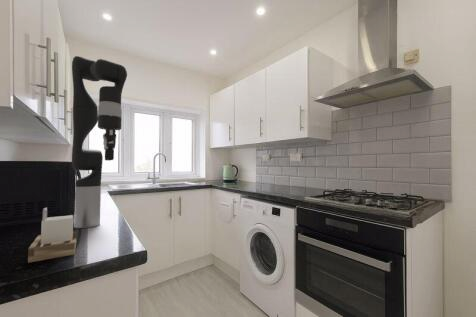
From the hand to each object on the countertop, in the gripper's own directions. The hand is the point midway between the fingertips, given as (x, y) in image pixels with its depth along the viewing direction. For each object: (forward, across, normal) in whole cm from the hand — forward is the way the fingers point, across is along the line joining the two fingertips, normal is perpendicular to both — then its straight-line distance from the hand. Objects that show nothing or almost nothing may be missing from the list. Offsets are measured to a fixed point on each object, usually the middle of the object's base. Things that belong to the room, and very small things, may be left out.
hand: (109, 160), depth 81 cm
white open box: (+26, +5, -14) cm, 30 cm away
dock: (+28, +5, -14) cm, 32 cm away
